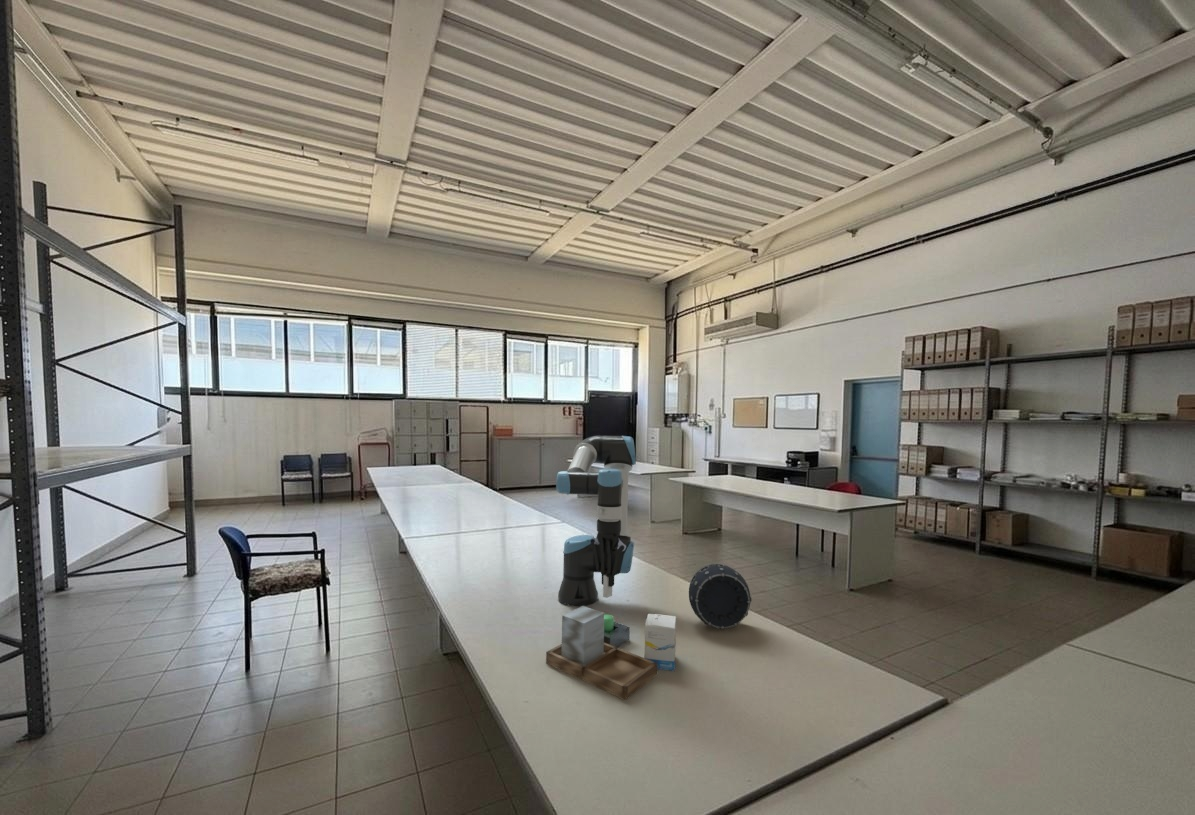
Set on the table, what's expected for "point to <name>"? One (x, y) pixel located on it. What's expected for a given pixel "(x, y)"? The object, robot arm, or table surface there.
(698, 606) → the dark round pouf
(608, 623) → the button
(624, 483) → the robot arm
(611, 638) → the grey square socket block
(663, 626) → the ink box
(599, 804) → the table surface
